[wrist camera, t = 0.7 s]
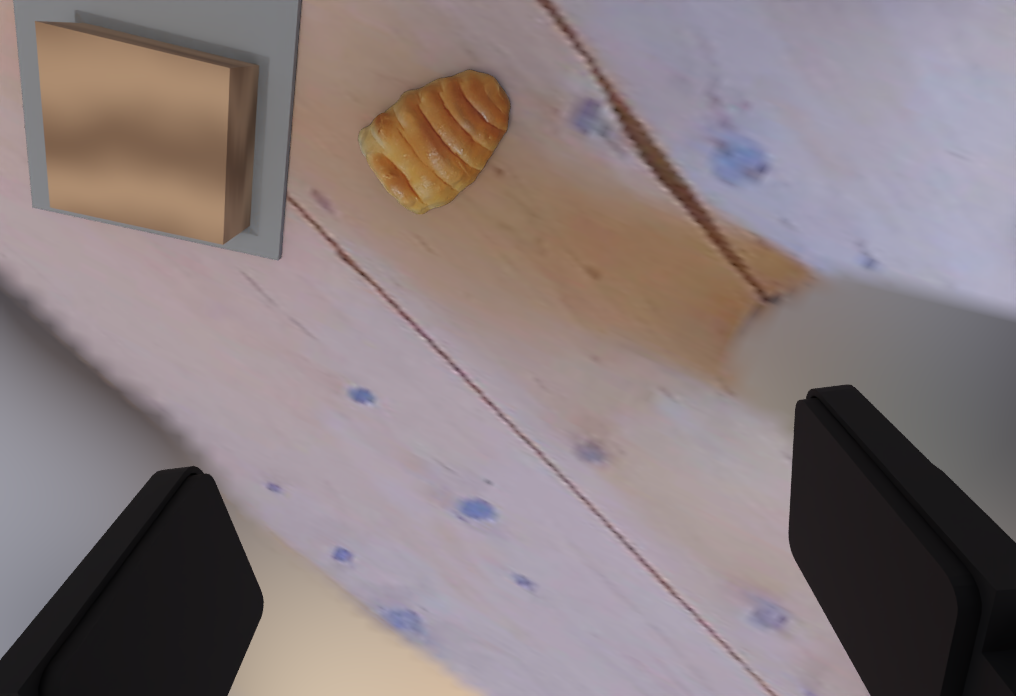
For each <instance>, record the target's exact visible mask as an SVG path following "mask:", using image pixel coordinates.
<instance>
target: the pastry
mask: <svg viewBox="0 0 1016 696" xmlns="http://www.w3.org/2000/svg"><path fill="white" fill-rule="evenodd" d="M509 111H510V101H509V98H508V97H507V95H506V93H505V91H504V90H503V88H502V87H501V86H500V85H499V84H498V82H497V80H496V79H495V78H494V77H493V76H491V75H489V74H485V73H480V72H476V71H473V70H466V71H464V72H461V73H458V74H456V75H454V76H451V77H446V78H439V79H437V80H435V81H432V82H430V83H429V84H427V85H426V86H424V87H422V88H420V89H416V90H409V91H406V92H404V93H403V94H402V95H401V97H400V99H399V100H398V102H397V103H395V104H394V105H393V106H391V107H390V108H389V109H388V110H387V111H386V112H385V113H381V114H379V115H378V116H377V117H376V118H375V119H374V120H373V122H372V123H371V124H370V125H369V126H368V127H365V128H363V129H362V130H361V131H360V132H359V136H358V141H359V145H360V148H361V151H362V153H363V155H364V156H365V157H366V159H367V162H368V164H369V166H370V168H371V169H372V170H373V172H374V173H375V175H376V176H377V178H378V179H379V181H380V182H381V183H382V185H383V186H384V188H385V189H386V190H387V191H388V193H390V194H391V195H392V196H394V197H395V198H396V199H397V201H398V202H399V203H400V204H401V205H402V206H404V207H405V208H406V209H408V210H409V211H412V212H414V213H416V214H424V213H426V212H427V211H429V210H430V209H433V208H436V207H441V206H443V205H446V204H448V203H449V202H451V201H452V200H453V199H454V198H455V197H456V196H457V195H458V193H459V192H461V191H463V189H464V188H465V187H467V186H468V185H470V184H471V183H472V182H474V181H475V179H476V177H477V175H478V174H479V173H480V172H481V170H482V169H483V168H484V166H485V164H486V162H487V160H488V159H489V158H490V157H491V155H492V153H493V151H494V149H495V148H496V147H497V145H498V143H499V142H500V140H501V139H502V137H503V135H504V134H505V133H506V131H507V128H508V119H509Z"/></svg>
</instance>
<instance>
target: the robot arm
mask: <svg viewBox="0 0 1016 696" xmlns="http://www.w3.org/2000/svg"><path fill="white" fill-rule="evenodd" d="M789 544H790V548H791V551H792V554H793V557H794V559H795V561H796V563H797V564H798V566H799V568H800V570H801V572H802V573H803V575H804V577H805V579H806V580H807V582H808V584H809V586H810V588H811V589H812V591H813V593H814V595H815V597H816V598H817V600H818V602H819V604H820V606H821V607H822V609H823V611H824V613H825V615H826V616H827V618H828V620H829V622H830V624H831V625H832V627H833V629H834V631H835V633H836V634H837V636H838V638H839V640H840V642H841V643H842V645H843V647H844V649H845V650H846V652H847V654H848V656H849V658H850V659H851V661H852V663H853V665H854V667H855V668H856V670H857V672H858V674H859V676H860V677H861V679H862V681H863V683H864V685H865V686H866V688H867V690H868V692H869V694H870V695H871V696H1016V543H1015V542H1014V541H1013V540H1012V539H1011V538H1010V537H1009V536H1008V535H1007V534H1006V533H1005V532H1004V531H1003V530H1002V529H1001V528H1000V527H999V526H998V525H997V524H996V523H995V522H994V521H993V520H992V519H991V518H990V517H989V516H988V515H987V514H986V513H985V512H984V511H983V510H982V509H981V508H980V507H979V506H978V505H976V504H975V503H974V502H973V501H972V500H971V499H970V498H969V497H968V496H967V495H966V494H965V493H964V492H963V491H962V490H961V489H960V488H959V487H958V486H957V485H956V484H955V483H954V482H953V481H952V480H951V479H950V478H949V477H948V476H947V475H946V474H945V473H944V472H943V471H942V470H940V469H939V468H937V467H936V466H935V465H933V464H932V463H931V462H930V461H929V460H928V459H927V458H926V457H925V456H924V455H923V454H922V453H921V452H919V450H918V449H917V448H916V447H915V446H914V445H913V444H912V443H911V442H910V441H909V440H908V439H907V438H906V437H905V436H904V435H903V434H902V433H901V432H900V431H899V430H898V429H897V428H896V427H895V426H893V424H892V423H890V422H889V420H887V418H885V417H884V416H883V415H882V414H881V413H880V412H879V411H878V410H877V409H876V408H875V407H874V406H873V405H872V404H871V403H870V402H869V401H868V400H867V399H866V398H865V397H864V396H863V395H862V394H861V393H860V392H859V391H858V390H857V389H856V388H855V387H853V386H852V385H840V386H832V387H824V388H815V389H811V390H810V391H809V392H808V394H807V396H806V399H804V400H799V401H798V402H797V404H796V408H795V422H794V441H793V459H792V478H791V497H790V515H789ZM263 603H264V601H263V595H262V592H261V589H260V587H259V584H258V582H257V580H256V577H255V575H254V573H253V570H252V568H251V566H250V563H249V561H248V559H247V556H246V554H245V551H244V549H243V547H242V544H241V542H240V540H239V537H238V535H237V532H236V530H235V528H234V525H233V523H232V521H231V519H230V516H229V514H228V511H227V509H226V506H225V504H224V502H223V499H222V497H221V495H220V492H219V490H218V488H217V485H216V483H215V481H214V479H213V477H212V476H211V475H210V474H204V473H203V472H202V470H200V469H199V468H198V467H195V466H191V467H183V468H175V469H167V470H161V471H158V472H156V473H155V474H154V475H153V476H152V477H151V478H150V479H149V481H148V482H147V483H146V484H145V485H144V487H143V488H142V489H141V490H140V491H139V493H138V494H137V495H136V496H135V498H134V499H133V500H132V501H131V502H130V504H129V505H128V506H127V507H126V508H125V510H124V511H123V512H122V513H121V514H120V516H119V517H118V518H117V519H116V520H115V522H114V523H113V524H112V525H111V527H110V528H109V529H108V530H107V532H106V533H105V534H104V535H103V536H102V537H101V539H100V540H99V541H98V542H97V543H96V545H95V546H94V547H93V549H92V550H91V551H90V552H89V553H88V554H87V556H86V557H85V558H84V559H83V560H82V562H81V563H80V564H79V565H78V566H77V568H76V569H75V570H74V571H73V573H72V574H71V575H70V576H69V577H68V579H67V580H66V581H65V582H64V584H63V585H62V586H61V587H60V588H59V589H58V591H57V592H56V593H55V594H54V596H53V597H52V598H51V599H50V600H49V602H48V603H47V604H46V605H45V606H44V608H43V609H42V610H41V611H40V612H39V614H38V615H37V616H36V617H35V619H34V620H33V621H32V622H31V623H30V625H29V626H28V627H27V628H26V630H25V631H24V632H23V633H22V634H21V636H20V637H19V638H18V639H17V640H16V642H15V643H14V644H13V645H12V646H11V648H10V649H9V650H8V651H7V653H6V654H5V655H4V656H3V657H2V659H1V660H0V696H227V695H228V693H229V691H230V689H231V686H232V684H233V682H234V679H235V677H236V675H237V672H238V670H239V668H240V665H241V663H242V661H243V658H244V656H245V654H246V651H247V649H248V647H249V644H250V642H251V640H252V637H253V635H254V633H255V630H256V628H257V626H258V623H259V621H260V619H261V616H262V612H263Z"/></svg>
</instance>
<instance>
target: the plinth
mask: <svg viewBox="0 0 1016 696" xmlns="http://www.w3.org/2000/svg"><path fill="white" fill-rule="evenodd" d="M78 11H79V10H78ZM75 12H76V10H75ZM79 12H81V11H79ZM82 12H83V11H82ZM84 13H86V14H87V12H84ZM86 14H84V15H85V17H86ZM89 14H92V13H89ZM76 15H78V14H76ZM76 15H75V16H76ZM79 15H80V13H79ZM84 15H83V13H82V16H83V17H84ZM93 15H94V14H93ZM95 15H96V14H95ZM95 15H94V16H95ZM87 16H89V15H88V14H87ZM97 16H98V15H97ZM76 17H77V16H76ZM92 17H93V16H92ZM77 18H78V17H77ZM79 18H80V17H79ZM89 18H90V17H89ZM95 18H97V17H95ZM101 18H102V17H101ZM101 18H100V19H101ZM80 19H81V18H80ZM80 19H77V20H76V19H75V22H80V23H71V22H47V21H35V28H36V41H37V53H38V65H39V78H40V90H41V102H42V115H43V127H44V139H45V152H46V164H47V176H48V189H49V201H50V207H51V208H55V209H60V210H64V211H69V212H74V213H78V214H83V215H87V216H92V217H97V218H101V219H106V220H111V221H115V222H120V223H124V224H129V225H134V226H138V227H143V228H148V229H152V230H157V231H161V232H166V233H171V234H175V235H180V236H185V237H189V238H194V239H198V240H203V241H208V242H212V243H217V244H222V245H224V244H225V243H226V242H228V241H229V240H231V239H232V238H233V237H235V236H236V235H238V234H239V233H241V232H242V231H243V230H244V231H245V232H247V231H246V230H249V229H248V227H249V226H250V224H251V223H252V222H251V223H250V218H251V215H253V214H251V204H252V203H251V200H252V194H253V193H252V182H253V164H254V162H255V161H257V160H255V161H254V157H255V156H254V155H255V154H254V148H255V137H256V136H255V133H256V132H255V129H256V124H258V123H256V119H257V118H256V112H257V98H258V97H257V95H258V94H257V93H258V92H260V91H258V89H259V88H258V80H260V79H258V76H259V73H260V72H259V67H260V65H256V64H255V63H254V62H253V61H252V62H253V64H251V63H247V62H243V61H244V60H242V61H239V60H240V59H239V58H241V57H242V56H244V55H243V54H241V55H242V56H241V57H239V58H238V59H239V60H235V59H236V58H235V59H234V58H233V57H231V58H233V59H231V58H227V57H228V56H225V55H224V56H225V57H223V56H219V55H220V54H221V53H220V52H219V53H220V54H219V55H214V54H210V53H206V52H207V51H206V52H202V51H203V50H201V51H200V50H199V51H198V50H197V49H196V50H194V49H193V48H192V49H190V48H189V47H188V46H190V45H188V44H189V43H188V44H187V45H188V46H185V47H182V46H181V45H180V44H179V46H178V44H177V45H173V44H172V42H173V41H172V42H170V43H171V44H169V43H165V42H166V41H165V42H161V41H160V40H159V41H157V39H156V40H154V39H150V38H147V37H144V36H143V37H141V36H136V34H137V33H135V34H134V35H132V34H131V33H130V34H128V33H129V32H128V33H124V31H123V32H120V30H121V29H120V30H118V31H116V30H115V27H116V25H115V27H114V30H112V29H108V28H104V27H102V25H100V22H99V21H102V20H99V21H98V20H97V21H98V22H97V23H99V25H100V26H101V27H100V26H95V25H91V24H87V23H85V22H86V21H85V22H82V21H84V20H82V19H81V20H82V21H80ZM85 19H87V18H85ZM90 19H94V18H90ZM97 19H99V18H97ZM111 19H112V18H111ZM88 20H89V19H88ZM104 20H105V21H106V19H104ZM104 20H103V21H104ZM115 20H116V19H115ZM89 21H90V20H89ZM92 21H93V22H94V20H92ZM113 21H114V20H113ZM81 22H82V23H81ZM106 22H108V21H106ZM109 22H111V21H109ZM116 22H117V21H116ZM116 22H115V23H116ZM119 22H120V20H119ZM89 23H90V22H89ZM94 24H95V23H94ZM104 24H105V22H104ZM111 24H113V23H111ZM124 24H125V23H124ZM106 25H107V24H106ZM121 25H122V24H121ZM126 25H127V24H126ZM128 25H129V24H128ZM109 26H111V25H109ZM117 26H118V22H117ZM123 26H124V25H122V27H123ZM131 26H132V24H131ZM136 26H138V25H136ZM136 26H134V27H136ZM127 27H128V26H126V28H127ZM142 27H143V28H144V26H142ZM109 28H111V27H109ZM139 28H140V26H139ZM123 29H124V28H123ZM132 29H133V27H132ZM137 29H138V28H137ZM146 29H148V28H146ZM146 29H145V28H144V30H146ZM130 30H131V29H130V28H129V31H130ZM138 30H140V29H138ZM144 30H142V31H144ZM150 30H151V29H150ZM150 30H149V31H150ZM152 30H153V29H152ZM126 31H127V30H126ZM134 31H135V30H134ZM154 31H156V30H154ZM130 32H131V31H130ZM137 32H138V31H137ZM139 32H140V31H139ZM144 32H147V31H144ZM144 32H141V34H142V33H144ZM160 32H161V30H160ZM149 33H150V32H149ZM149 33H148V34H149ZM155 33H156V32H155ZM161 33H164V32H161ZM161 33H160V36H161ZM168 33H169V32H168ZM138 35H139V34H138ZM157 35H158V32H157ZM163 35H165V34H163ZM170 35H171V34H170ZM173 35H174V34H173ZM176 35H177V34H176ZM145 36H148V35H147V33H146V35H145ZM151 36H152V35H151ZM166 36H169V35H166ZM166 36H162V37H163V38H165V37H166ZM174 36H175V35H174ZM179 36H180V35H179ZM148 37H149V36H148ZM169 37H170V36H169ZM176 37H177V36H176ZM180 37H181V36H180ZM184 37H185V36H184ZM153 38H155V36H154V37H153ZM158 38H159V36H158ZM173 38H174V37H173ZM185 38H187V37H185ZM185 38H184V39H185ZM159 39H160V38H159ZM181 39H182V37H181ZM190 39H192V38H190ZM193 39H194V38H193ZM193 39H192V40H193ZM163 40H164V39H163ZM173 40H176V38H175V39H173ZM169 41H170V40H169ZM169 41H168V42H169ZM180 41H182V40H180ZM185 41H186V40H185ZM190 41H191V40H190ZM196 41H200V40H196ZM177 42H178V41H177ZM186 42H187V41H186ZM186 42H185V43H186ZM192 42H193V41H191V43H192ZM201 42H203V41H202V40H201ZM201 42H200V43H199V44H201ZM175 43H176V42H175ZM181 43H182V42H181ZM196 43H197V42H196ZM205 43H206V42H205ZM208 43H209V42H208ZM193 44H194V43H193ZM203 44H204V43H203ZM209 44H210V43H209ZM183 45H184V44H183ZM185 45H186V44H185ZM194 45H195V44H194ZM194 45H193V46H192V47H194ZM204 45H205V44H204ZM206 45H207V44H206ZM208 46H209V45H208ZM214 46H215V45H214ZM214 46H211V47H214ZM219 46H222V45H219ZM186 47H188V48H186ZM199 47H200V46H199ZM202 47H204V46H202ZM205 47H206V48H207V46H205ZM211 47H210V49H211ZM200 48H201V47H200ZM208 48H209V47H208ZM217 48H218V46H217ZM217 48H216V49H217ZM198 49H199V48H198ZM201 49H202V48H201ZM204 49H205V48H204ZM210 49H208V50H210ZM221 49H222V48H221ZM223 49H225V48H224V47H223ZM225 50H226V49H225ZM237 50H239V49H237ZM211 51H212V50H211ZM217 51H218V49H217ZM220 51H221V52H223V51H222V50H220ZM227 51H228V49H227ZM231 51H232V50H231ZM233 51H236V50H233ZM241 51H242V50H241ZM228 52H229V51H228ZM237 52H239V51H237ZM237 52H236V54H237ZM211 53H212V52H211ZM213 53H214V52H213ZM226 53H227V52H226ZM233 53H234V52H233ZM239 53H240V52H239ZM249 53H251V52H249ZM224 54H225V53H224ZM234 54H235V53H234ZM239 55H240V54H239ZM250 55H253V53H252V54H250ZM229 56H230V55H229ZM231 56H232V55H231ZM235 56H236V55H235ZM254 57H257V56H255V55H254ZM254 57H253V58H254ZM259 57H260V56H259ZM246 58H248V55H246V57H245V60H246ZM251 58H252V56H251ZM251 58H250V59H251ZM263 58H264V57H263ZM242 59H243V58H242ZM255 59H256V58H255ZM265 59H266V58H265ZM252 60H253V59H252ZM257 60H258V57H257ZM246 61H249V60H246ZM254 61H255V60H254ZM264 61H265V60H264V59H263V62H264ZM250 62H251V61H250ZM257 62H259V61H257ZM257 62H256V63H257ZM260 62H261V61H260ZM265 62H266V61H265ZM265 62H264V63H265ZM268 62H270V60H269V61H268ZM258 64H260V63H258ZM265 64H266V63H265ZM268 64H269V63H268ZM268 64H267V65H268ZM263 65H264V64H263ZM267 65H264V67H265V66H267ZM266 68H267V67H266ZM260 69H262V68H261V67H260ZM262 70H264V68H263V69H262ZM262 70H260V71H262ZM265 70H266V69H265ZM267 71H268V70H267ZM263 72H264V71H263ZM268 73H269V72H268ZM260 74H261V73H260ZM264 74H266V73H264ZM263 77H266V76H263ZM268 77H269V74H268ZM263 79H264V78H263ZM266 80H268V79H266ZM261 81H262V79H261ZM261 81H260V82H261ZM265 82H266V84H267V85H268V83H267V81H265ZM265 82H264V83H265ZM261 83H262V82H261ZM266 84H265V86H266ZM263 86H264V85H263ZM259 87H261V86H259ZM267 88H268V87H267ZM262 89H263V87H262ZM264 89H265V87H264ZM259 90H261V89H259ZM263 91H264V90H263ZM264 92H265V91H264ZM266 92H267V90H266ZM262 93H263V92H262ZM262 93H261V95H262ZM266 94H268V93H266ZM263 96H264V94H263ZM266 96H267V95H266ZM260 97H261V98H262V96H260ZM258 100H259V99H258ZM262 100H263V101H264V98H263V99H262ZM265 102H266V101H265ZM265 102H263V103H265ZM260 104H262V103H261V102H260ZM265 105H266V104H265ZM259 106H261V105H259ZM264 107H265V106H264ZM266 107H267V106H266ZM258 108H259V107H258ZM264 109H265V108H264ZM259 110H260V109H259ZM266 110H267V109H266ZM262 112H263V111H262ZM265 112H266V111H265ZM261 114H262V113H261ZM261 114H257V115H261ZM264 115H265V114H264ZM264 115H263V117H264ZM265 116H266V115H265ZM260 118H261V117H260ZM265 119H266V118H265ZM260 120H261V119H260ZM260 120H259V121H260ZM259 121H258V122H259ZM263 121H264V120H263ZM263 125H264V124H263ZM257 126H258V125H257ZM264 126H265V125H264ZM260 128H261V127H260ZM263 128H264V127H263ZM257 129H258V128H257ZM261 130H262V129H261ZM261 130H260V129H259V131H260V132H261ZM264 131H265V129H264ZM261 133H262V132H261ZM261 133H260V134H261ZM264 133H265V132H264ZM257 135H259V134H257ZM259 138H260V137H259ZM264 139H265V138H264ZM258 140H259V139H257V141H258ZM259 141H260V140H259ZM262 141H263V140H262ZM258 145H259V144H258ZM256 146H257V145H256ZM261 146H262V145H261ZM259 147H260V146H259ZM260 148H262V147H260ZM257 151H258V150H257ZM255 153H256V152H255ZM256 155H257V154H256ZM258 157H259V156H258ZM263 157H264V156H263ZM260 158H261V157H260ZM258 162H259V161H258ZM261 162H262V159H261ZM256 164H257V163H256ZM258 164H259V163H258ZM258 164H257V165H258ZM259 166H260V165H258V166H257V167H259ZM259 168H260V167H259ZM261 168H262V167H261ZM261 168H260V169H261ZM254 170H255V169H254ZM261 170H262V169H261ZM254 172H256V171H254ZM255 175H257V173H255ZM255 175H254V176H255ZM261 176H262V175H261ZM258 177H259V176H258ZM254 178H255V179H256V176H255V177H254ZM260 182H261V181H260ZM258 183H259V182H258ZM255 184H256V182H255ZM261 184H262V183H261ZM255 186H256V185H255ZM261 186H262V185H261ZM255 188H256V187H255ZM256 189H257V188H256ZM257 191H259V190H257ZM253 192H254V191H253ZM255 194H256V193H255ZM253 196H254V194H253ZM254 197H255V196H254ZM255 198H256V197H255ZM257 198H258V197H257ZM260 201H261V199H260ZM258 203H260V202H258ZM252 205H253V204H252ZM253 206H254V205H253ZM258 207H259V206H258ZM259 208H260V207H259ZM255 209H256V207H255ZM259 212H260V211H259ZM259 212H258V213H259ZM255 214H257V213H255ZM257 217H259V216H257ZM259 219H260V218H259ZM256 221H257V220H256ZM254 222H255V221H254ZM255 225H256V224H255ZM257 227H258V226H257ZM249 228H251V227H249ZM255 228H256V227H255ZM245 229H246V230H245ZM251 231H254V230H252V228H251V230H249V233H250V232H251ZM257 231H258V230H257ZM255 232H256V231H254V234H256V233H255ZM242 233H244V232H242ZM247 234H248V232H247ZM250 234H251V233H250ZM251 235H252V234H251ZM256 236H258V235H256Z"/></svg>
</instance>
